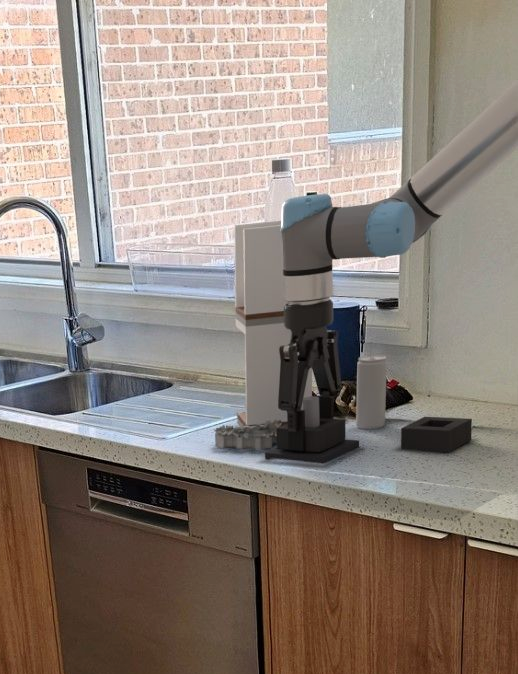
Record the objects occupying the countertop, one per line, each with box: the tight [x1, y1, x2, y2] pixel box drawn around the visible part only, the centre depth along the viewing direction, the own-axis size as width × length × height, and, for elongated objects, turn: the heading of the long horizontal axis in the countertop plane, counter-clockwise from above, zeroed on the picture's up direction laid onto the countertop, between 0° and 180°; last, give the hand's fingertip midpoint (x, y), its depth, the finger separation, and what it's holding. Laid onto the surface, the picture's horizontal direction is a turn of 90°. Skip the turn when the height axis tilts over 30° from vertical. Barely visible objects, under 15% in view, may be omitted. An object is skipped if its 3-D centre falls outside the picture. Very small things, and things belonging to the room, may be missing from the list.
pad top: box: [400, 416, 473, 453], centre depth 196 cm, size 8×8×4 cm
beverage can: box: [355, 354, 388, 430], centre depth 210 cm, size 5×5×12 cm
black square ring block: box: [276, 418, 346, 452], centre depth 200 cm, size 8×8×4 cm
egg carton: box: [213, 420, 282, 451], centre depth 211 cm, size 11×8×4 cm
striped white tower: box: [233, 219, 313, 427], centre depth 215 cm, size 11×11×35 cm
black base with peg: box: [264, 395, 360, 464], centre depth 199 cm, size 11×11×10 cm
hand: (311, 443), depth 200 cm, fingers closed on black square ring block, 8 cm apart
